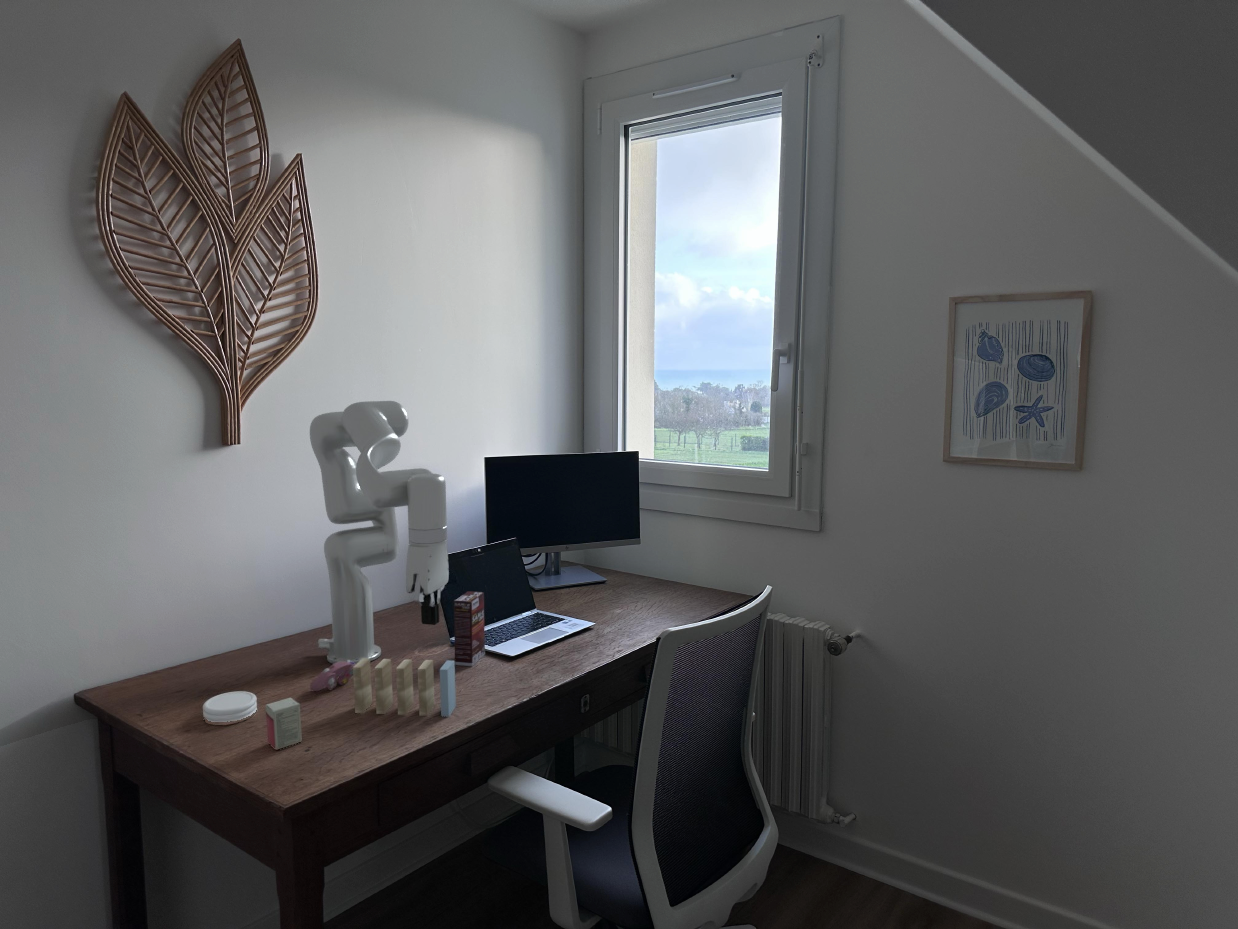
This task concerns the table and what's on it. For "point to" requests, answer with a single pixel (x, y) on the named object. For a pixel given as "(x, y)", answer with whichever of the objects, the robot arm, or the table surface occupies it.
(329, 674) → the pink toy car
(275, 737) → the small box
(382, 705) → the domino
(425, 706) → the domino
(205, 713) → the white round lid
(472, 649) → the supplement box
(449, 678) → the end domino
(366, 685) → the domino
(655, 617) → the table surface
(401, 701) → the domino
